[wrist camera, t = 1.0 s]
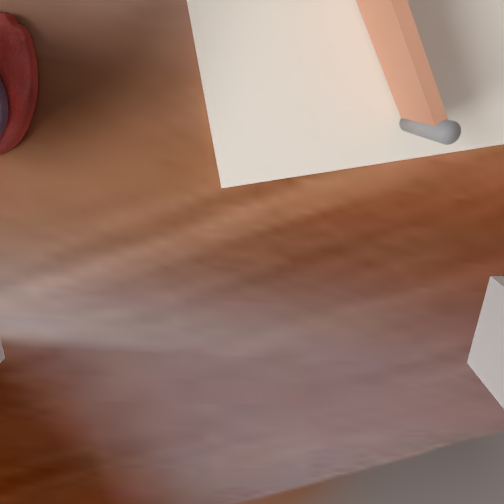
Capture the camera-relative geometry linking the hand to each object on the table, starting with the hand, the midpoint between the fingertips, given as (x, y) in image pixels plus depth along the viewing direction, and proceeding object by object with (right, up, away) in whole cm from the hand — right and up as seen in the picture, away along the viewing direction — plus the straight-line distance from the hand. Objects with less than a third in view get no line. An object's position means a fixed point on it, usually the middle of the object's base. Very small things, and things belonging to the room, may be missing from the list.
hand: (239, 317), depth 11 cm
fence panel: (+9, +16, +18) cm, 26 cm away
